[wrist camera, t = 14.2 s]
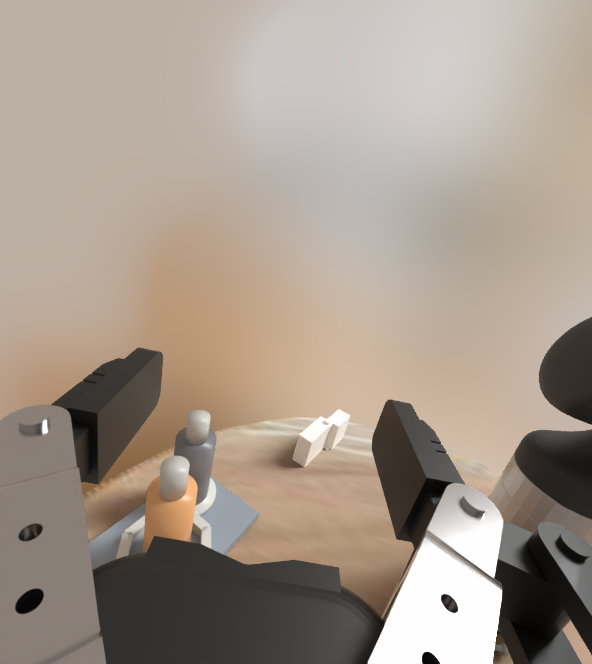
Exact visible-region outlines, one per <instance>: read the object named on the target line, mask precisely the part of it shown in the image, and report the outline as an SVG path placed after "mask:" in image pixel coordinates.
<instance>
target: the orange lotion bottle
mask: <svg viewBox="0 0 592 664" xmlns="http://www.w3.org/2000/svg"><path fill="white" fill-rule="evenodd" d="M189 466H190V464H189V461H188V460H187V459H186V458H184V457H182V456H172V457H169V458H167V459H165V460H164V461H163V462H162V464H161V471H160V476H159V477H157V478H156V479H154V480H153V481H152V482H151V484H150V485H149V487H148V489H147V495H146V510H145V525H144V541H143V553H145V552H147V550H148V548H149V546H150V544H151V542H152V539H153V537H154V536H159V537H164V538H170V539H176V540H182V541H188V542H190V539H191V533H192V526H193V519H194V512H195V505H196V498H197V490H198V487H197V483H196V481H195V480H194V478H193V477H191V476H190V475H188V474H189Z"/></svg>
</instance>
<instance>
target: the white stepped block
mask: <svg viewBox="0 0 592 664" xmlns="http://www.w3.org/2000/svg"><path fill="white" fill-rule="evenodd" d="M349 419H350V415H348V414H347V413H345V412H343V411H341V410H337V411H336V412H335V413H334V414H333V415H332V416H331V417H329V418H327V419H325V418H323V417H320V418H318V419H317V420H316V421H315V422H314V423H312V424H311V425H310V426H309V427H308V428H306V429H305V430H304V431H303V432H301V433H300V434H299V436H298V440H297V444H296V447H295V451H294V454H293V458H292V459H293V460H294V461H296V462H297V463H298V464H300V465H301V466H303V467H305V466H306V465H307V464H308V463H309V462H310V461H311V460H312V459H313V458H314V457H315V456H316V455H317V454H318V453H319V452H320V451H321V450H322V449H323V448H324V449H326V450H329V449H331V450H332V449H333V448H334V446H335V445H336V444H337V443H338V442H339V441H340V440H341V439H342V438H343V436H344V433H345V430H346V427H347V424H348V422H349Z"/></svg>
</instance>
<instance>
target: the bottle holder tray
mask: <svg viewBox="0 0 592 664" xmlns="http://www.w3.org/2000/svg"><path fill="white" fill-rule="evenodd" d="M209 424H210V414H209V413H208V412H206V411H204V410H195V411H192V412H190V413H189V415H188V419H187V427H186V428H184V429H182V430H181V431H179V433H178V434H177V436H176V442H175V451H174V456H182V457H184V458H186V459H187V460H188V461H189V464H190V466H189V474H188V475H190V476H191V477H193V478H194V480H195V481H196V483H197V487H198V490H197V498H196V505H195V512H194V519H193V526H192V533H191V539H190V542H193V543H199V544H202V545H204V546H206V547H209V548H211V549H213V550H215V551H217V552H219V553H221V554H223V555H225V556H226V555H227V554H228V552H229V551H230V550H231V549H232V548H233V547H234V546H235V544H236V543H237V542H238V541H239V540H240V539H241V538H242V536H243V535H244V534H245V533H246V532H247V531H248V529H249V528H250V527H251V526H252V525H253V524H254V523H255V521H256V520H257V519H258V516H259V513H258V512H257V511H256V510H254V509H253V508H252V507H250V506H249V505H248V504H246V503H245V502H244V501H242V500H241V499H240V498H238V497H237V496H236V495H235V494H233V493H232V492H231V491H229V490H228V489H227V488H225V487H224V486H223V485H221V484H220V483H219V482H217V481H216V480H215V479H214V478H212V477H211V470H212V464H213V457H214V451H215V445H216V435H215V433H214V432H213V431H212V430H211V429H209ZM145 510H146V502H145V503H143V504H142V505H141V506H139V507H138V508H136V509H135V510H134V511H132V512H131V513H130V514H128V515H127V516H125V517H124V518H123V519H121V520H120V521H119V522H117V523H116V524H114V525H113V526H112V527H110V528H109V529H107V530H106V531H105V532H103V533H102V534H101V535H99V536H98V537H96V538H95V539H94V540H92V541H91V542H90V543H89V549H90V557H91V564H92V570H93V569H95V568H97V567H99V566H101V565H103V564H106V563H108V562H110V561H112V560H115V559H118V558H121V557H124V556H128V555H133V554H137V553H143V541H144V525H145Z"/></svg>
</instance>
